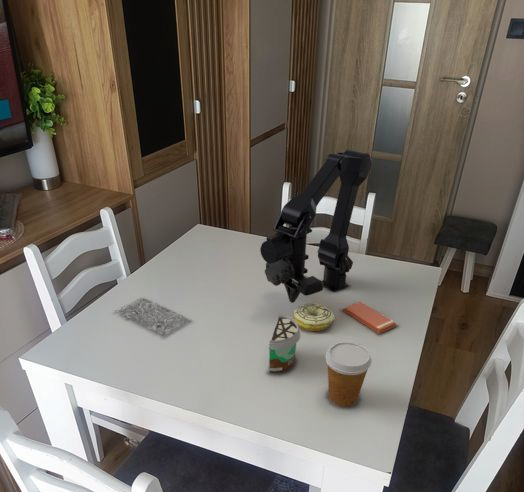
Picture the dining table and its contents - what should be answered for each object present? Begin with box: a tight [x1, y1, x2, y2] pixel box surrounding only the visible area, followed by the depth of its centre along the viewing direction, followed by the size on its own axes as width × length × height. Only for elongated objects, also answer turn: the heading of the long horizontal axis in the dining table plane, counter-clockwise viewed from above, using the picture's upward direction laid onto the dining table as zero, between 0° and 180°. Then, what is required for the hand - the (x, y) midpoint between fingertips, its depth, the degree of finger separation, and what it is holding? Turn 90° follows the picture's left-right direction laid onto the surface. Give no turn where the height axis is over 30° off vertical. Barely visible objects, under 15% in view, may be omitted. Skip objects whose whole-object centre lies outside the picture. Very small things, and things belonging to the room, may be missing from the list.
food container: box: [268, 313, 301, 374], centre depth 114 cm, size 12×6×10 cm, turn 168°
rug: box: [114, 297, 190, 336], centre depth 133 cm, size 10×20×1 cm, turn 52°
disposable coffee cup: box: [325, 341, 373, 408], centre depth 103 cm, size 10×10×12 cm
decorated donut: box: [293, 303, 335, 332], centre depth 130 cm, size 10×11×4 cm
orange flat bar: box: [342, 301, 397, 335], centre depth 133 cm, size 14×6×1 cm, turn 35°
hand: (292, 302), depth 137 cm, fingers closed
